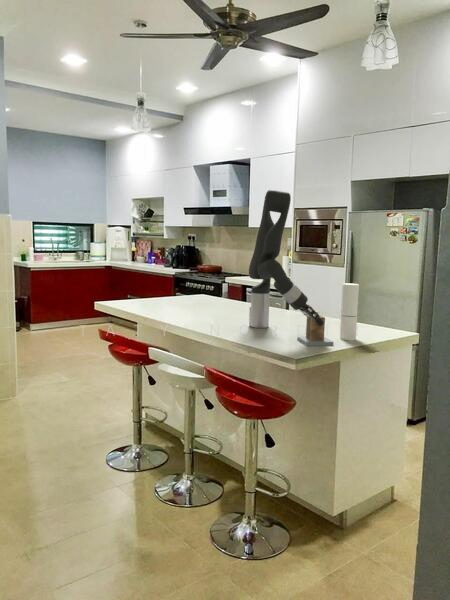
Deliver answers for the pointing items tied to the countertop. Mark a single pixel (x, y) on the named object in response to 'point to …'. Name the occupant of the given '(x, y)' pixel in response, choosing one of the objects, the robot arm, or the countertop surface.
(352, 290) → the cylindrical container
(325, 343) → the post stand
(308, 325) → the collar
